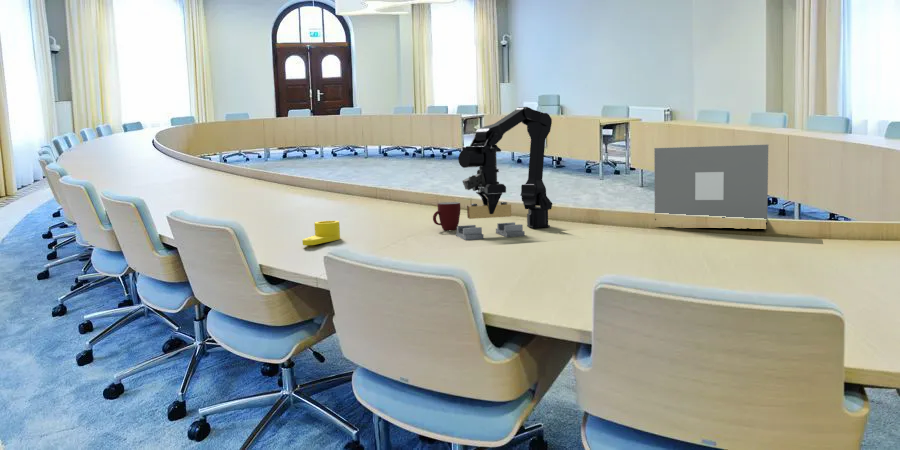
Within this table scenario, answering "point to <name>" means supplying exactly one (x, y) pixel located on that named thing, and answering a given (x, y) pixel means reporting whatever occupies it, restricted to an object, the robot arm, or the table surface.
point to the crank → (324, 233)
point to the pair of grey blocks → (502, 228)
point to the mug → (448, 215)
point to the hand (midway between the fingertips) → (489, 213)
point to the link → (483, 211)
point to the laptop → (712, 180)
